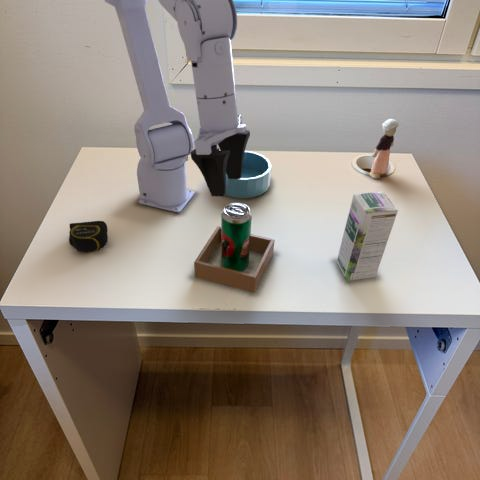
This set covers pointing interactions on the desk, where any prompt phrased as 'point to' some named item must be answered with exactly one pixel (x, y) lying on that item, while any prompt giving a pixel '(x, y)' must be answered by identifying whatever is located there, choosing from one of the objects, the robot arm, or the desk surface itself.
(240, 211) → the soda can
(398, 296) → the desk surface
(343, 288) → the desk surface
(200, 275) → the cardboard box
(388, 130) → the grandmother figurine
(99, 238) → the tape measure
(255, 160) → the bowl
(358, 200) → the syrup box
